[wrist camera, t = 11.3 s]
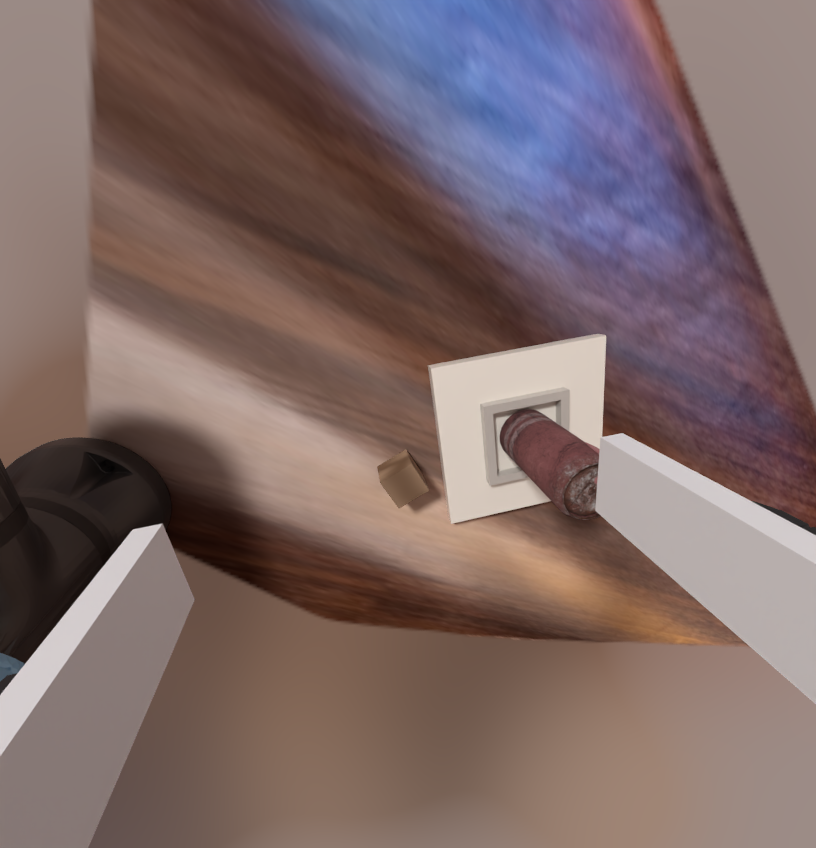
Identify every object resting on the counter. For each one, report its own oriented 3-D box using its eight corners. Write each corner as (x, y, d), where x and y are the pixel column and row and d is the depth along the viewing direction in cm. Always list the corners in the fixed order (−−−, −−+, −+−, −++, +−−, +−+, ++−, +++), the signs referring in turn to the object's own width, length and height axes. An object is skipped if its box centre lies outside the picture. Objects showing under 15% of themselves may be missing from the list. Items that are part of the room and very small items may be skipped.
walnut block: (394, 490, 47) (398, 508, 44) (377, 466, 46) (380, 482, 42) (422, 473, 47) (429, 490, 43) (406, 449, 46) (411, 463, 42)
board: (448, 516, 50) (453, 529, 47) (428, 365, 42) (433, 370, 40) (592, 484, 52) (605, 494, 49) (597, 333, 44) (613, 336, 42)
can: (554, 408, 45) (639, 460, 32) (538, 458, 47) (613, 526, 34) (505, 402, 44) (574, 454, 31) (492, 453, 46) (551, 522, 33)
